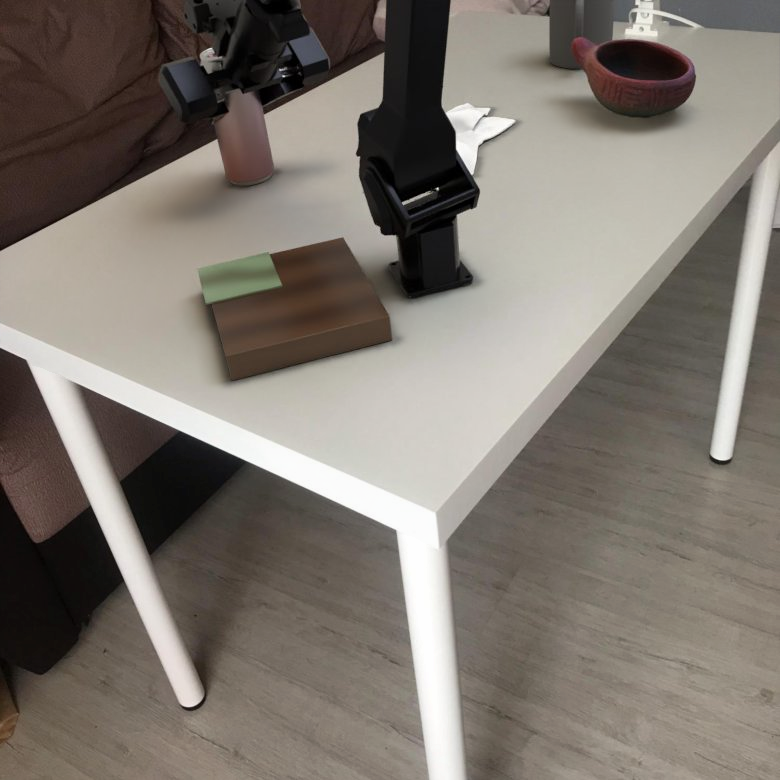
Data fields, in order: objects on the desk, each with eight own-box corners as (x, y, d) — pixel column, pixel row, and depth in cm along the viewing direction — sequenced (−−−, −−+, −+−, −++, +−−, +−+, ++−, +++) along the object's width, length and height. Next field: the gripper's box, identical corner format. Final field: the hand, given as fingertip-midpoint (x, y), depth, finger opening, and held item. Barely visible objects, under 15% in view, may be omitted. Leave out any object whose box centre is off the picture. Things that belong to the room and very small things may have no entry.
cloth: (433, 106, 120) (432, 89, 118) (529, 111, 114) (529, 94, 113) (347, 184, 101) (344, 165, 100) (456, 194, 96) (455, 175, 95)
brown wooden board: (392, 340, 74) (389, 313, 72) (226, 382, 72) (218, 355, 70) (346, 259, 87) (343, 234, 85) (203, 292, 84) (196, 268, 83)
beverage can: (221, 175, 107) (192, 51, 98) (266, 162, 109) (241, 39, 100) (234, 191, 103) (205, 63, 94) (281, 178, 105) (257, 51, 96)
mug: (551, 51, 134) (552, -33, 127) (612, 49, 132) (616, -37, 124) (544, 80, 123) (544, -10, 116) (610, 78, 121) (615, -14, 114)
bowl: (696, 96, 112) (703, 32, 108) (687, 133, 103) (694, 65, 98) (572, 94, 118) (573, 33, 113) (553, 129, 108) (553, 64, 104)
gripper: (300, -55, 93) (268, 35, 107) (139, -16, 85) (128, 76, 99) (350, 33, 92) (312, 112, 106) (193, 80, 84) (174, 160, 98)
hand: (233, 113), depth 102 cm, fingers closed on beverage can, 6 cm apart
